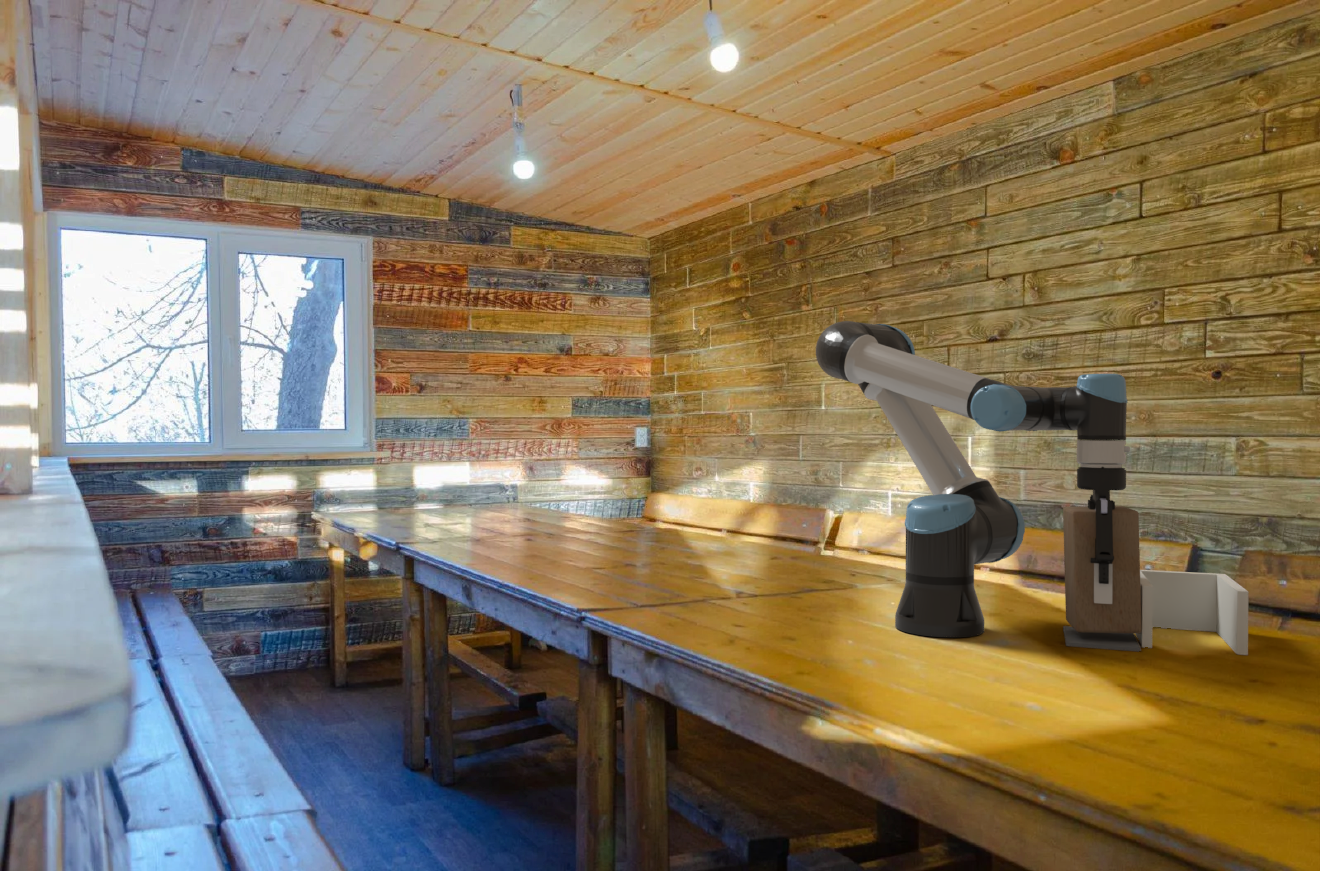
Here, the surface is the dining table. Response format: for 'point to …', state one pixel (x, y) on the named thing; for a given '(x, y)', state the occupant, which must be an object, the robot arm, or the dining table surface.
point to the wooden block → (1081, 572)
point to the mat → (1101, 640)
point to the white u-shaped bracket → (1194, 606)
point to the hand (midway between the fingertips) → (1100, 597)
